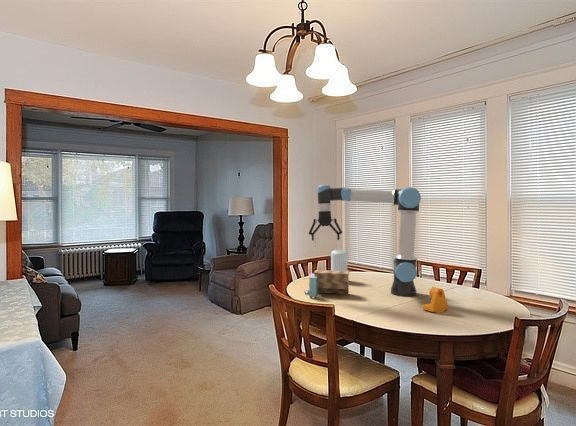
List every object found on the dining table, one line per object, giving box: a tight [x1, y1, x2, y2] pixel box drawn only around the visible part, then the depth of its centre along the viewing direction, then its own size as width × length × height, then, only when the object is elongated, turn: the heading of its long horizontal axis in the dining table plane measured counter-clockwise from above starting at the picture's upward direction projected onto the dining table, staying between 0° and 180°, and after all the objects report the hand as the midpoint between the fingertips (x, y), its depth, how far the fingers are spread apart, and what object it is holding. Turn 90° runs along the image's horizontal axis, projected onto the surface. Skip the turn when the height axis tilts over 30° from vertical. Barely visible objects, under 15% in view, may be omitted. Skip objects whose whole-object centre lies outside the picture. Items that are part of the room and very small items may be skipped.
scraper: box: [308, 275, 318, 298], centre depth 225 cm, size 4×11×12 cm, turn 167°
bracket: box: [422, 286, 448, 314], centre depth 193 cm, size 11×7×12 cm, turn 117°
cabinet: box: [313, 269, 350, 295], centre depth 228 cm, size 21×8×14 cm, turn 77°
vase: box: [330, 249, 348, 271], centre depth 266 cm, size 12×12×22 cm
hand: (325, 245), depth 226 cm, fingers open, 13 cm apart
